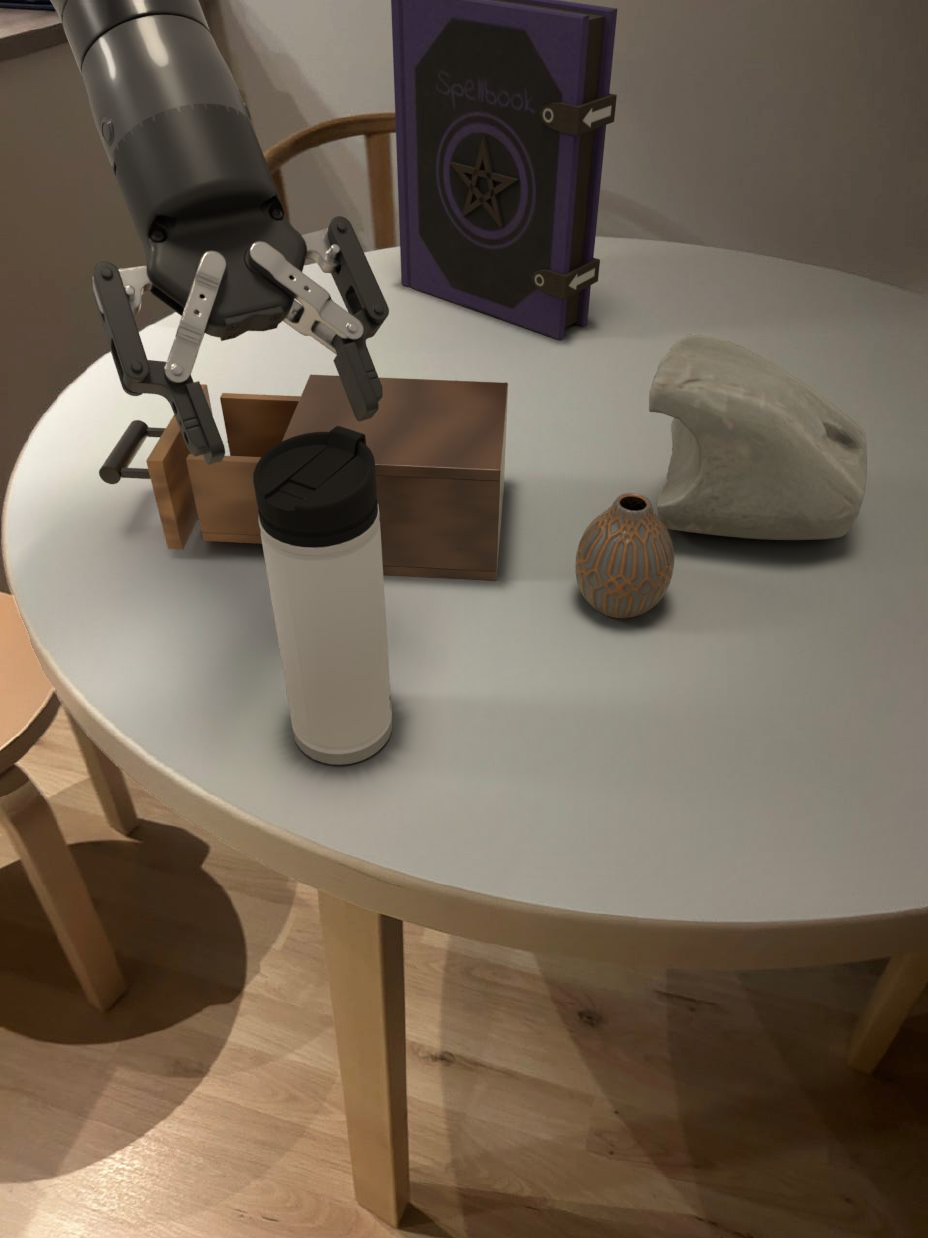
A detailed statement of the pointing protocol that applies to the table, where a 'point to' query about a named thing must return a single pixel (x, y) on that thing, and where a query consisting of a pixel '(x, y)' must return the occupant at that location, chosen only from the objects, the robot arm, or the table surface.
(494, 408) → the cabinet
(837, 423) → the decorative stone
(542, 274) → the book
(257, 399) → the drawer
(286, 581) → the travel mug
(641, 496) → the vase
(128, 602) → the table surface
